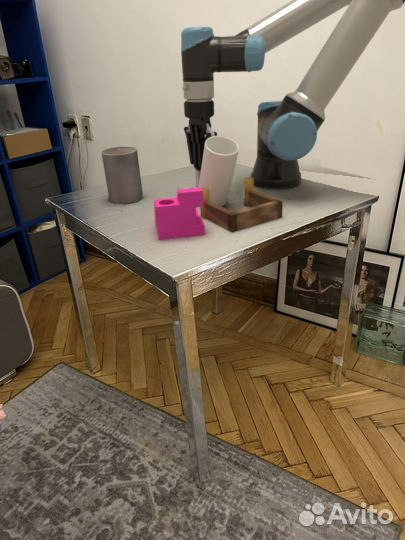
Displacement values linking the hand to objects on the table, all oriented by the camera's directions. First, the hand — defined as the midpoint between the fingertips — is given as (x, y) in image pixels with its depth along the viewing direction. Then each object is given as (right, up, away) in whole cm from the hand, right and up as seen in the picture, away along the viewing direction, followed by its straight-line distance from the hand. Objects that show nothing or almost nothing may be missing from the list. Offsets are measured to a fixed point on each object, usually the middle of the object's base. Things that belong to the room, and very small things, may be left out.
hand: (201, 192), depth 111 cm
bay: (+10, -8, -12) cm, 18 cm away
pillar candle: (-22, -1, +5) cm, 22 cm away
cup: (+3, -2, -3) cm, 5 cm away
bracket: (-5, -12, -16) cm, 21 cm away
